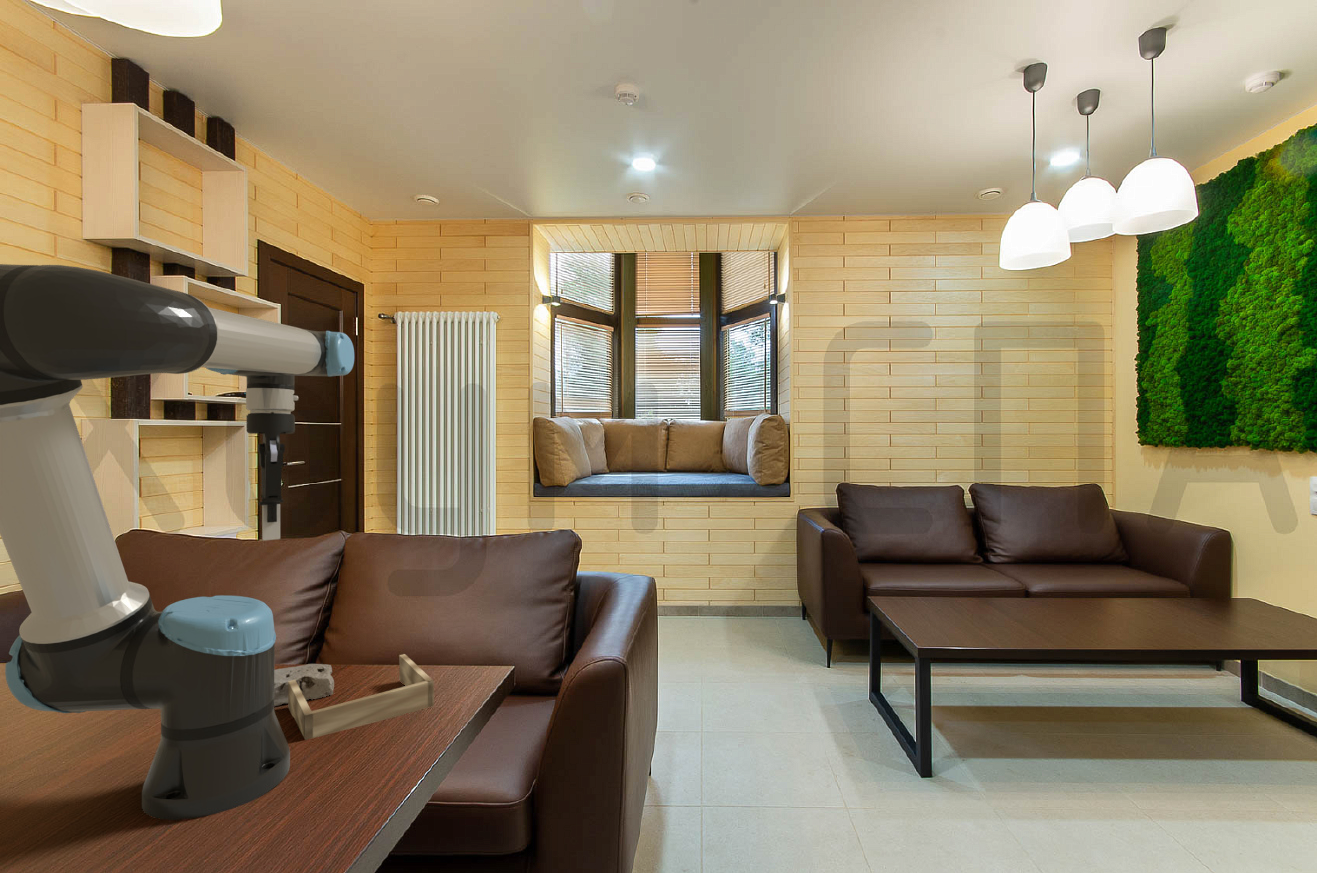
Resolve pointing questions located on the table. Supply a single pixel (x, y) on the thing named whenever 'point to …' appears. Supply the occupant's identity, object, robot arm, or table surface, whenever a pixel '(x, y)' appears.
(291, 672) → the stone
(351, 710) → the bracket
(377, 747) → the table surface
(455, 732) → the table surface
